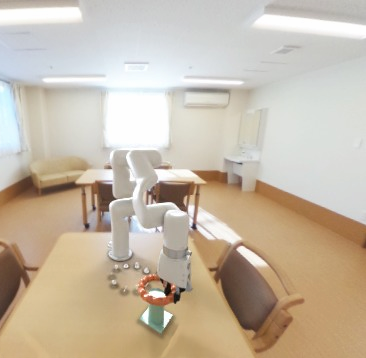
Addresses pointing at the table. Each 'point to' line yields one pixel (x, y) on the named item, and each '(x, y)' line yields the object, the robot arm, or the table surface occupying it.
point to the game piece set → (127, 267)
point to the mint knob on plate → (156, 313)
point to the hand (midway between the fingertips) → (172, 298)
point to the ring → (150, 299)
